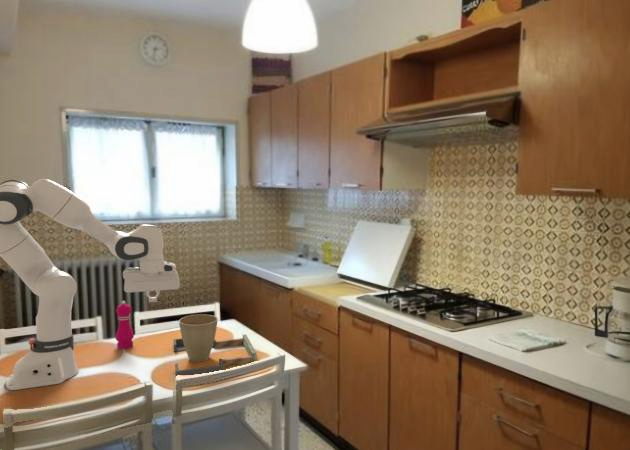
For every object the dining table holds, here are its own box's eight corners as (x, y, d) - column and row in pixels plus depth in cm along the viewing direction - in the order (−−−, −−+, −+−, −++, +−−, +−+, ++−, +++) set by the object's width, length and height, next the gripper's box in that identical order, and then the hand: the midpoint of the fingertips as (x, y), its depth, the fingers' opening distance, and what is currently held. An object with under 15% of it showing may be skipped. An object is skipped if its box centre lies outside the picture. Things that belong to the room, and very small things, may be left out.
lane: (222, 367, 174) (221, 356, 174) (215, 346, 197) (215, 337, 196) (256, 362, 179) (256, 352, 178) (246, 343, 201) (246, 334, 200)
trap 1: (173, 351, 190) (173, 344, 190) (173, 345, 198) (173, 339, 197) (215, 347, 196) (215, 340, 195) (213, 341, 203) (213, 335, 203)
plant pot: (194, 368, 173) (193, 327, 171) (172, 359, 182) (171, 319, 181) (226, 357, 184) (225, 318, 183) (203, 349, 194) (203, 312, 192)
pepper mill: (129, 349, 193) (128, 302, 192) (112, 349, 194) (111, 302, 192) (136, 343, 201) (135, 298, 199) (120, 343, 201) (118, 298, 199)
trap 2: (175, 379, 163) (175, 371, 163) (175, 371, 170) (175, 363, 170) (224, 373, 168) (224, 365, 168) (221, 366, 175) (221, 358, 175)
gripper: (121, 269, 169) (123, 306, 170) (179, 266, 176) (180, 301, 177) (123, 266, 175) (124, 302, 176) (179, 263, 182) (180, 298, 183)
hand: (153, 302), depth 177 cm, fingers closed
